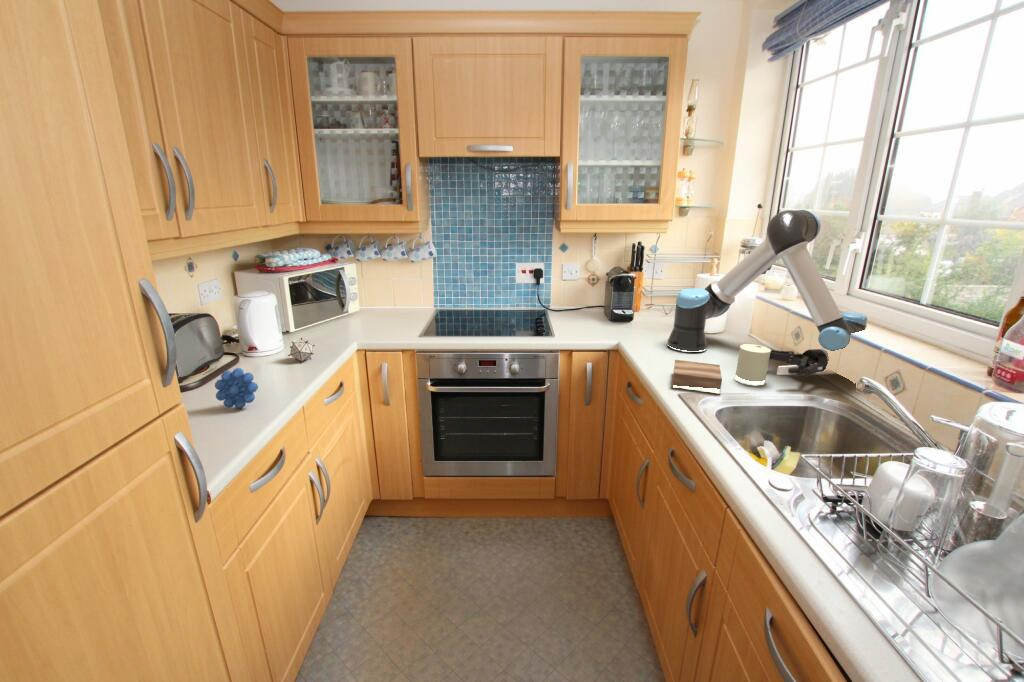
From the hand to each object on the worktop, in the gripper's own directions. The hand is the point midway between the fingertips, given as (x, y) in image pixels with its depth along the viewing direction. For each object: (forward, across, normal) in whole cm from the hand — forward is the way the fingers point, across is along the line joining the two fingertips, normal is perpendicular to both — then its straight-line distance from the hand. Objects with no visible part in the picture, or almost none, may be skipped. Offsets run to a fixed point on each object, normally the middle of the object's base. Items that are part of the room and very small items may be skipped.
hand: (763, 363), depth 153 cm
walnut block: (+22, +2, -6) cm, 23 cm away
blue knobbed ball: (+160, +5, -7) cm, 160 cm away
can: (+3, +1, -7) cm, 7 cm away
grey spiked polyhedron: (+152, +43, -7) cm, 158 cm away
